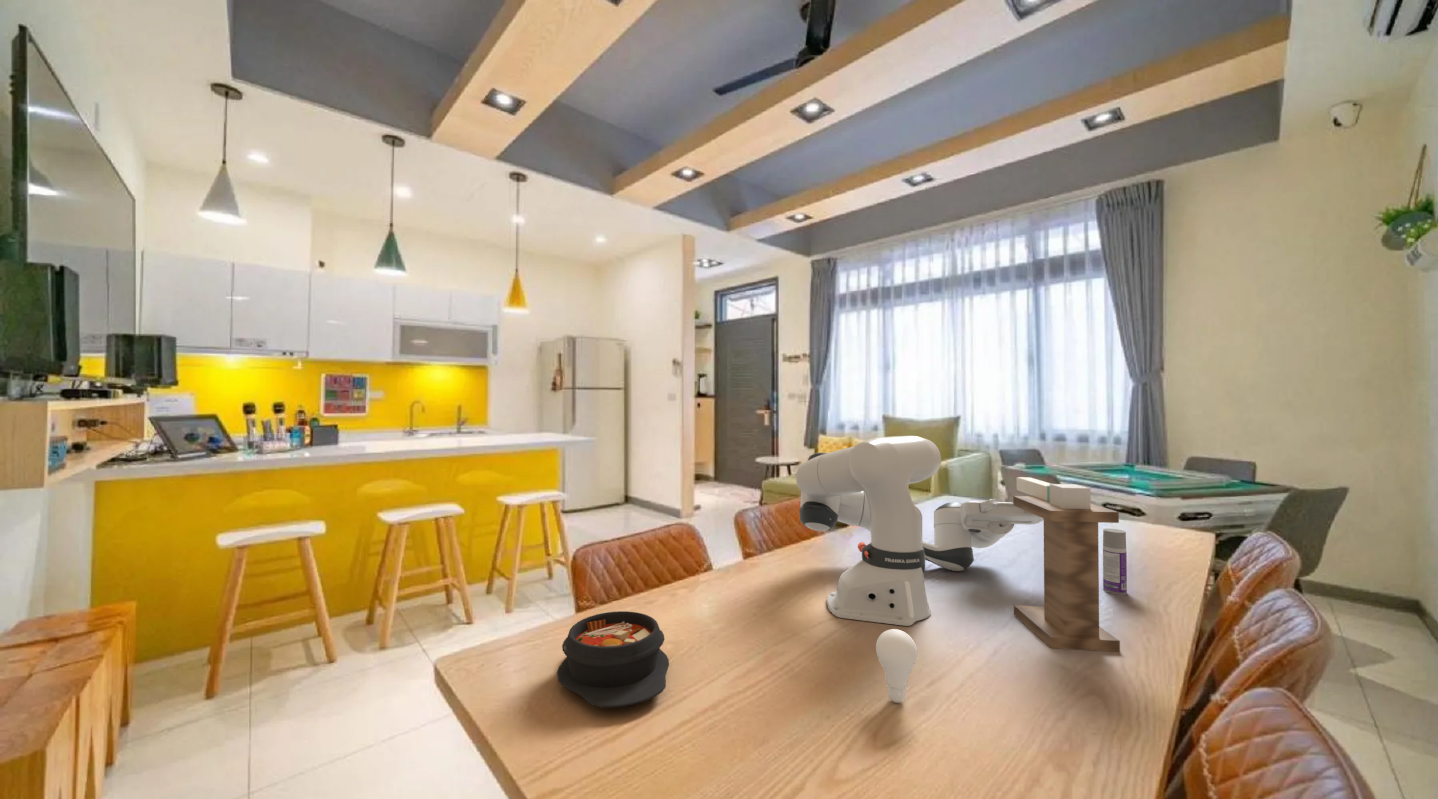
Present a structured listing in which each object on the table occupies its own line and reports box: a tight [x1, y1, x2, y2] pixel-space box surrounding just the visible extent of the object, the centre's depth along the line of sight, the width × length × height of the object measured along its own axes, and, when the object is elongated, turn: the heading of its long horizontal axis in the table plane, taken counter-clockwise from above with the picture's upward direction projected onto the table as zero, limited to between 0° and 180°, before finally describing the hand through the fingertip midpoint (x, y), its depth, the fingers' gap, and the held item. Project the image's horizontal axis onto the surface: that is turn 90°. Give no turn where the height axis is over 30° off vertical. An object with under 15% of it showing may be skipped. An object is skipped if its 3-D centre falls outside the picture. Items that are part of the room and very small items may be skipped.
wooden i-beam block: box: [1012, 495, 1121, 653], centre depth 106 cm, size 12×16×26 cm
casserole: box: [556, 610, 670, 709], centre depth 89 cm, size 25×19×8 cm
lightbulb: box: [875, 628, 918, 704], centre depth 81 cm, size 6×6×11 cm
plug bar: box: [1016, 476, 1092, 509], centre depth 112 cm, size 5×22×4 cm, turn 173°
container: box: [1102, 528, 1128, 596], centre depth 129 cm, size 5×5×15 cm
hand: (1013, 502), depth 129 cm, fingers open, 8 cm apart
